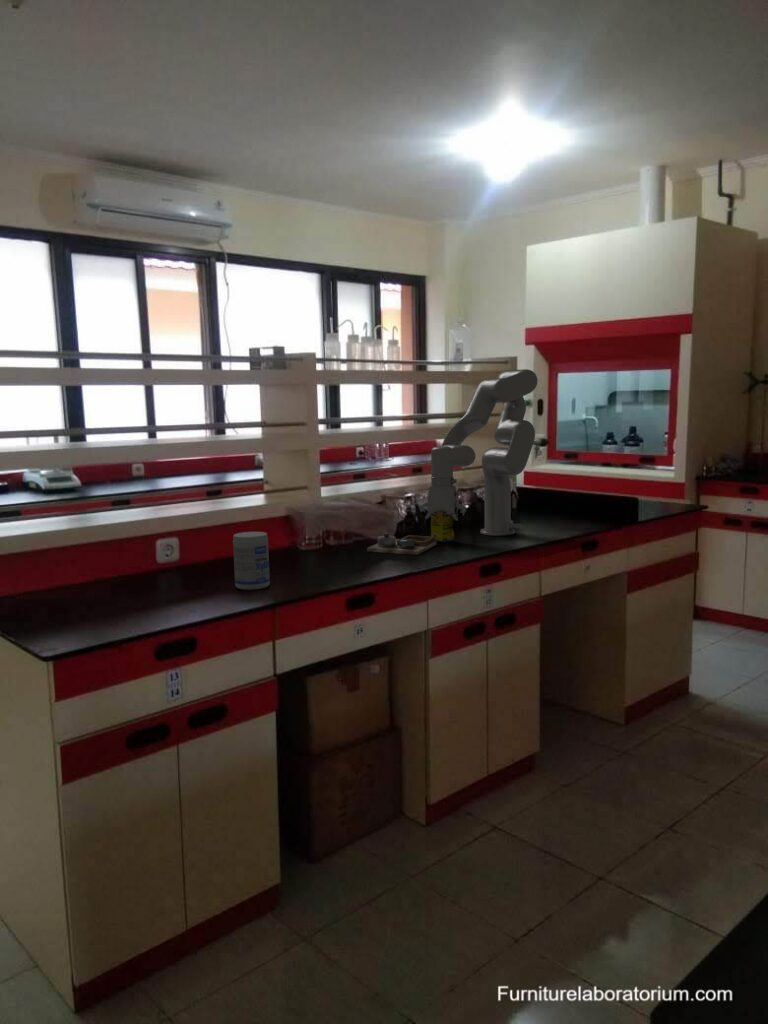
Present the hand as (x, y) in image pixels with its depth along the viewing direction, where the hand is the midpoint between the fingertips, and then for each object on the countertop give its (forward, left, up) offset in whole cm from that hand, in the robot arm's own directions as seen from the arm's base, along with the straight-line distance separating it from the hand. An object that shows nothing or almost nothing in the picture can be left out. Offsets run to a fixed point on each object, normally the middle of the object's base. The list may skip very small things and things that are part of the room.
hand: (442, 530), depth 274 cm
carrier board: (+9, +15, -4) cm, 18 cm away
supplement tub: (+28, +78, -4) cm, 83 cm away
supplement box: (0, 0, -4) cm, 4 cm away
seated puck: (+5, +20, -3) cm, 21 cm away
